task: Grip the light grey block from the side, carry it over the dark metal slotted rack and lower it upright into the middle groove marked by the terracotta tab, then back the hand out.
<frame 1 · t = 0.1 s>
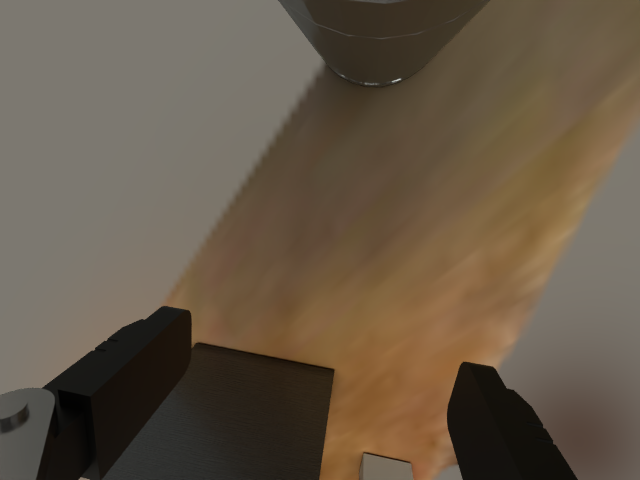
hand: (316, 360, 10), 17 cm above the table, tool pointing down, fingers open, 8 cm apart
light grey block: (384, 467, 35), on the table
rack: (258, 440, 36), on the table
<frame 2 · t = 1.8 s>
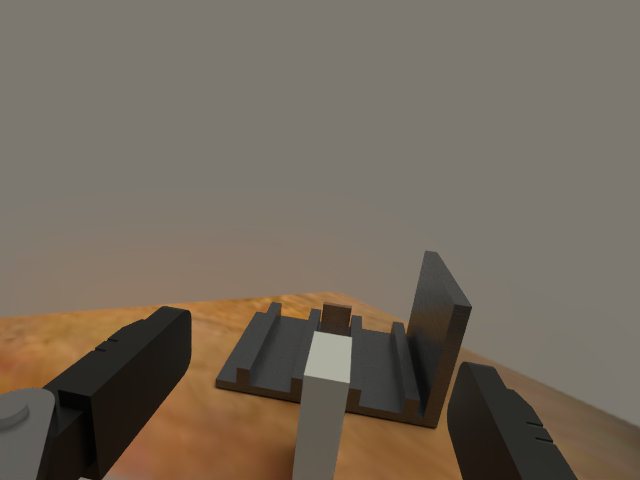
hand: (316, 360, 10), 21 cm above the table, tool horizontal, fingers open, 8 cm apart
light grey block: (313, 473, 27), on the table
rack: (329, 362, 40), on the table
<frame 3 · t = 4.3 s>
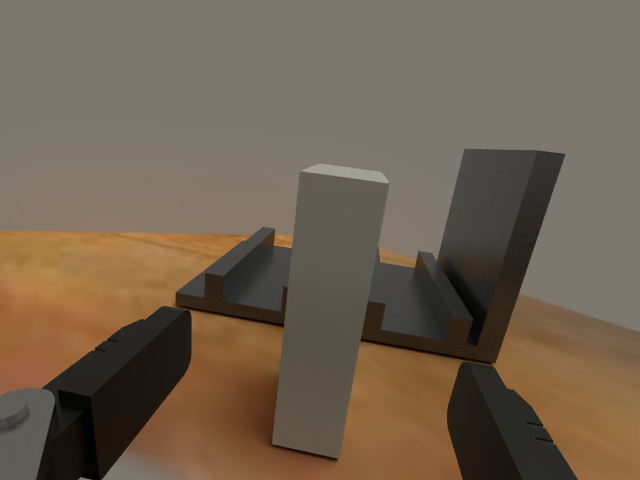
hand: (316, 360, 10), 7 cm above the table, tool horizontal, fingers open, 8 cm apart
light grey block: (313, 407, 17), on the table
rack: (336, 291, 30), on the table
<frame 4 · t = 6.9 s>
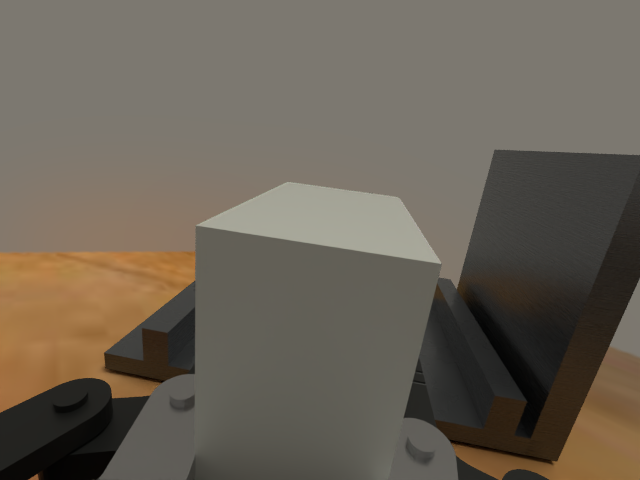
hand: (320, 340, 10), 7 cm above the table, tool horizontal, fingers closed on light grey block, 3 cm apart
rack: (330, 334, 23), on the table
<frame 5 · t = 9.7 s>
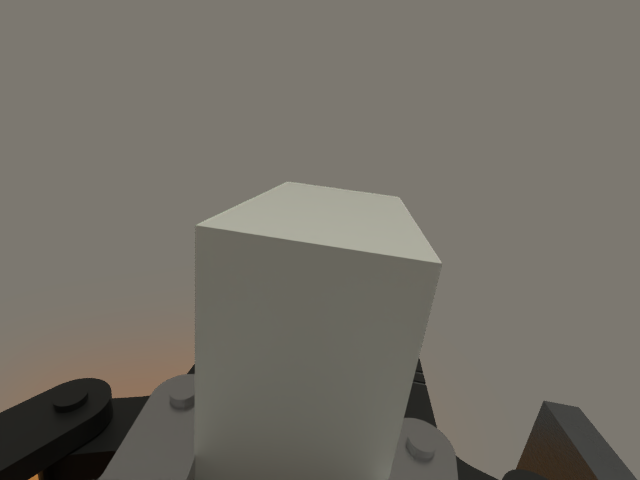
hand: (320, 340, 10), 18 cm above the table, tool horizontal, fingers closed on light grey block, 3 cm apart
when the fingers open (9 cm above the table, at t = 12.7 s): light grey block drops 1 cm, resting on rack.
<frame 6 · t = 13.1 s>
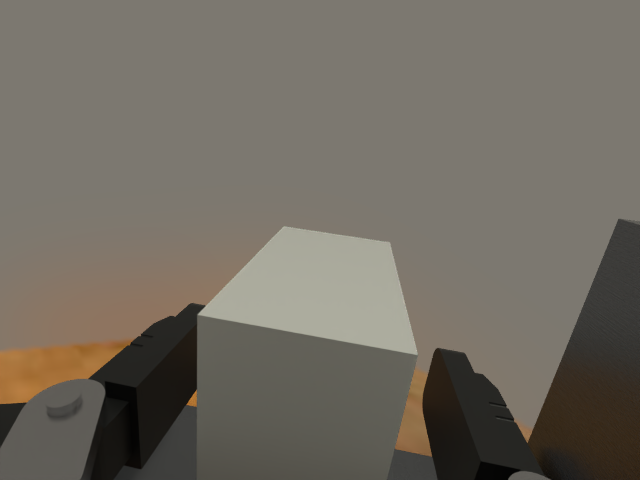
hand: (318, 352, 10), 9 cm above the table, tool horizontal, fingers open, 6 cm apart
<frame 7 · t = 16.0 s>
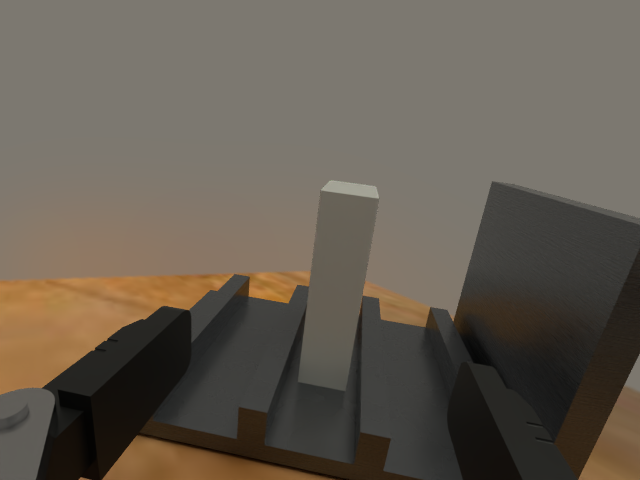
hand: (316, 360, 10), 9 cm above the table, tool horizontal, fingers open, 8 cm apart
light grey block: (326, 360, 22), point 1 cm above the table, touching rack
rack: (323, 373, 23), on the table
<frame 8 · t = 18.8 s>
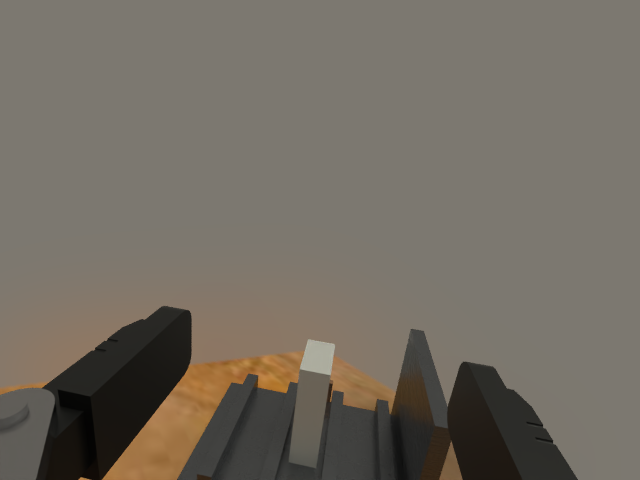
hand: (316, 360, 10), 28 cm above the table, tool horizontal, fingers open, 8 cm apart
light grey block: (306, 444, 37), point 1 cm above the table, touching rack
rack: (304, 452, 37), on the table
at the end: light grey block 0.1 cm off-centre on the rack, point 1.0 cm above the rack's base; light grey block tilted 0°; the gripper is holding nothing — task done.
